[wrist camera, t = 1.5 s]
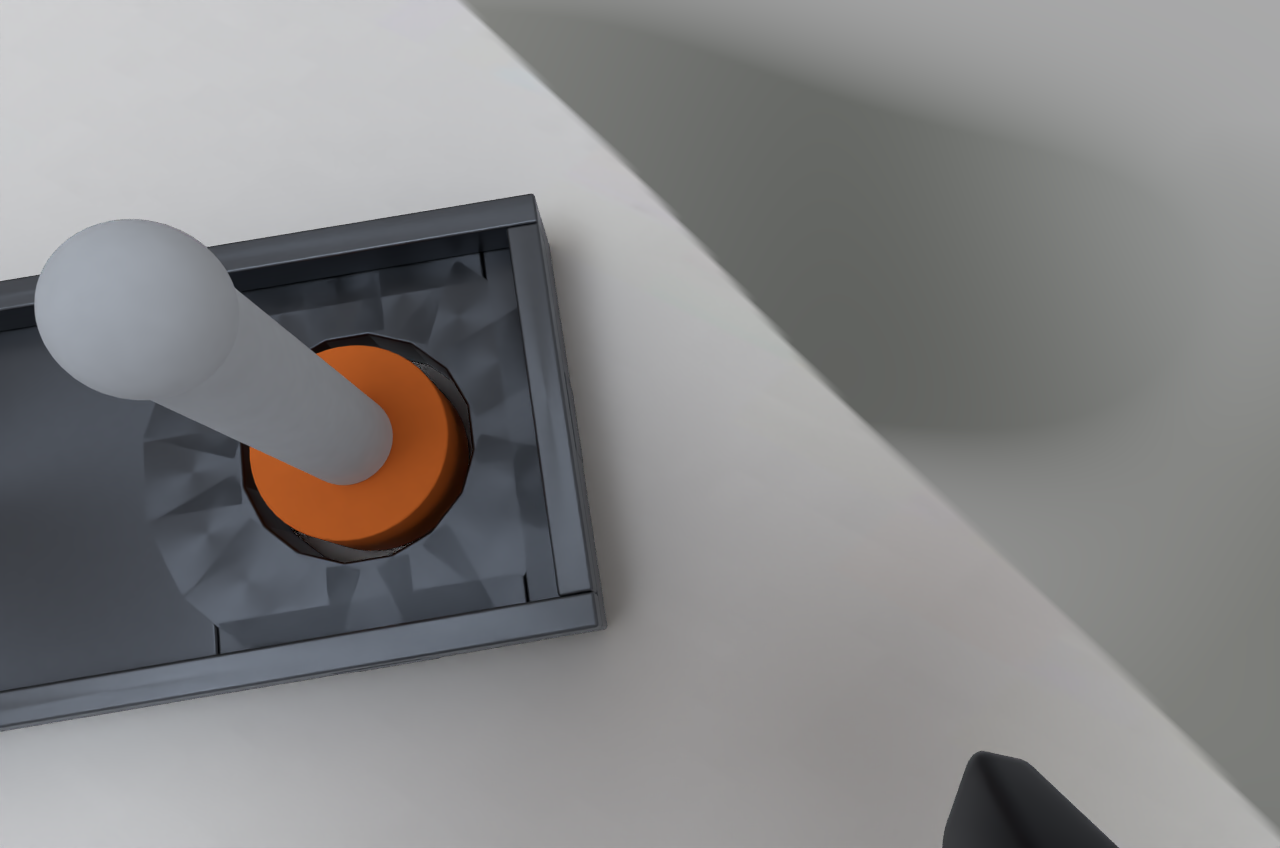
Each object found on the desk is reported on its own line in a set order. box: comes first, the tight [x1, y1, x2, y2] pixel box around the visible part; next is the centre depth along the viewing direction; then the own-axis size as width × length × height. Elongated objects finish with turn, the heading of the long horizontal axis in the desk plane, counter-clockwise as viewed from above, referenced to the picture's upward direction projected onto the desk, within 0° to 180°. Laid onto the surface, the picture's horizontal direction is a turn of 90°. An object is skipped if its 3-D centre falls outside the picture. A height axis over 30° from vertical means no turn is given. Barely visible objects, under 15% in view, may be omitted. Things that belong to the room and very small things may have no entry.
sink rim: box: [0, 194, 602, 730], centre depth 22 cm, size 22×11×1 cm, turn 99°
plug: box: [34, 219, 469, 550], centre depth 18 cm, size 5×5×12 cm
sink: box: [0, 220, 607, 732], centre depth 23 cm, size 22×11×2 cm, turn 99°
